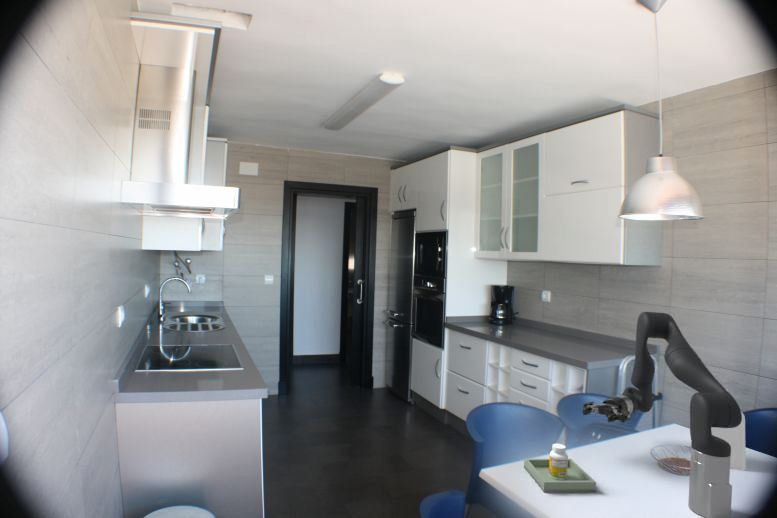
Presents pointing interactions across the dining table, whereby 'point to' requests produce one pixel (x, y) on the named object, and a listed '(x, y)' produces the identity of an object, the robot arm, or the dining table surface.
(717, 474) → the robot arm
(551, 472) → the supplement bottle
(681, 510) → the dining table surface
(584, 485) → the tray
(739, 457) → the milk
